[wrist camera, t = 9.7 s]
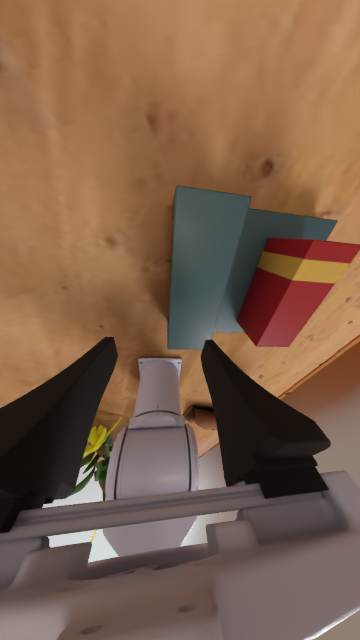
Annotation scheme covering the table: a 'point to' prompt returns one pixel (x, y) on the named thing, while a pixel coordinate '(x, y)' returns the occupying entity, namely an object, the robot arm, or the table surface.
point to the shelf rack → (221, 259)
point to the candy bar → (291, 287)
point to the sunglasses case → (201, 418)
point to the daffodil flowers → (97, 445)
